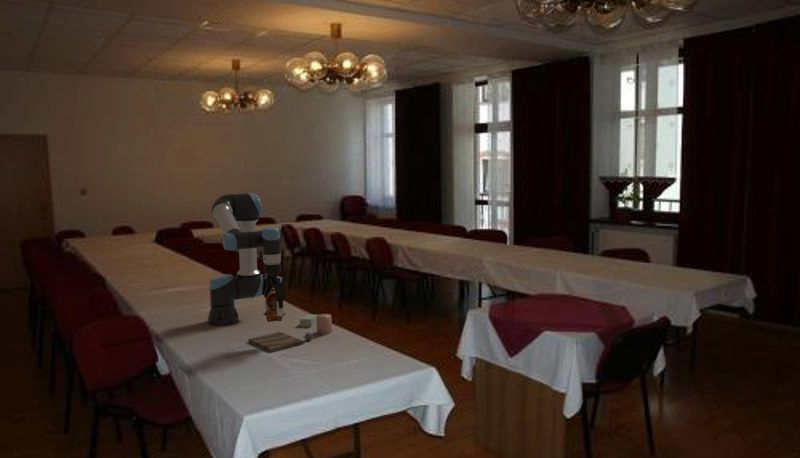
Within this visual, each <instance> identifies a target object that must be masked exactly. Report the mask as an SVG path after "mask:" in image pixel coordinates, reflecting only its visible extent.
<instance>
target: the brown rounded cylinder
mask: <svg viewBox="0 0 800 458" xmlns="http://www.w3.org/2000/svg"><path fill="white" fill-rule="evenodd" d="M316 315H317V316H316V320H317V324H316V334H317V335H322V336H323V335H324V336H325V335H329V334H331V333H332V332H333V329H332V327H333V325H332V322H333V321H332V315H331V314H329V313H321V314H316Z"/></svg>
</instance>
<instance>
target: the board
mask: <svg viewBox="0 0 800 458" xmlns="http://www.w3.org/2000/svg"><path fill="white" fill-rule="evenodd" d="M247 340H248V343H249V344H251V345H254V346H257V347H258V348H260V349H263V350H265V351H267V352H269V353H274V352H275V353H276V352H278V351H283V350H286V349H290V348H293V347H298V346H301V345H304V340H303V339H299V338H298V337H296V336H295V337H294V336H292V335H290V334H286V333H285V332H281V331H276V332H272V333H267V334H264V335H260V336H255V337H249V338H248V339H247Z"/></svg>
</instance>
